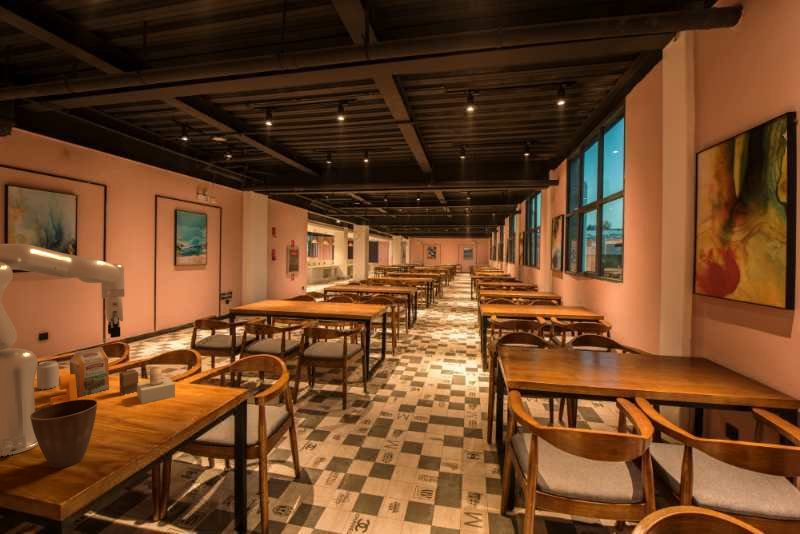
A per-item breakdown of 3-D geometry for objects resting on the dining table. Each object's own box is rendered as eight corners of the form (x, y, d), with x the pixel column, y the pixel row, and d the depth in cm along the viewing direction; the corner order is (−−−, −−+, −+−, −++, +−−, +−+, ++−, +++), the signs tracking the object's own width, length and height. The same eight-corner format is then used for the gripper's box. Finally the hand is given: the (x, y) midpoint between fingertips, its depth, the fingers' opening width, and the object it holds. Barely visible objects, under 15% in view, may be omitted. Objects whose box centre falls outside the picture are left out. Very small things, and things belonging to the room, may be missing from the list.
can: (41, 386, 179) (40, 360, 179) (61, 384, 182) (61, 359, 182) (34, 391, 172) (33, 365, 172) (55, 389, 175) (54, 363, 175)
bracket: (50, 404, 158) (49, 375, 157) (72, 399, 163) (72, 371, 163) (53, 411, 150) (53, 381, 150) (77, 405, 156) (76, 376, 155)
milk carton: (80, 397, 165) (79, 353, 165) (70, 392, 171) (69, 350, 170) (109, 390, 174) (108, 348, 174) (98, 385, 180) (97, 345, 179)
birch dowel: (162, 396, 166) (162, 369, 166) (151, 398, 163) (150, 370, 163) (160, 393, 169) (160, 366, 169) (149, 396, 166) (148, 368, 166)
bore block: (175, 396, 166) (174, 384, 166) (141, 403, 158) (141, 390, 158) (169, 389, 175) (168, 377, 175) (137, 395, 167) (137, 383, 167)
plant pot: (18, 480, 104) (16, 422, 104) (51, 452, 119) (49, 401, 118) (83, 471, 108) (82, 415, 108) (107, 446, 123) (106, 396, 122)
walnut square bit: (138, 391, 172) (138, 371, 172) (124, 395, 168) (123, 374, 167) (134, 389, 175) (133, 369, 175) (119, 392, 171) (119, 372, 171)
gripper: (127, 294, 153) (128, 337, 154) (121, 291, 166) (122, 331, 167) (103, 296, 148) (104, 340, 149) (99, 292, 161) (100, 333, 162)
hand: (114, 335), depth 158 cm, fingers open, 9 cm apart
